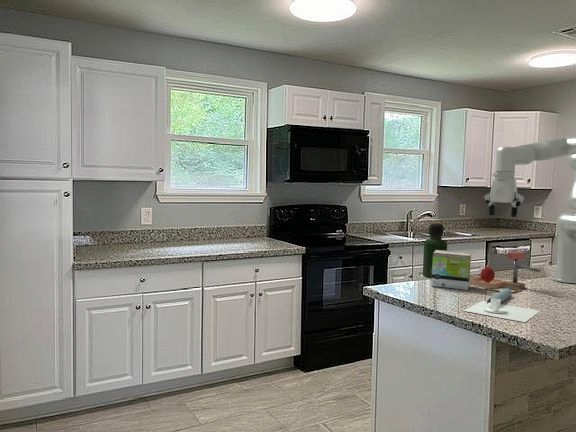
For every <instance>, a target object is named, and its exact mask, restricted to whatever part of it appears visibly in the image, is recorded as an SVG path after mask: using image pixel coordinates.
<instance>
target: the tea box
mask: <svg viewBox="0 0 576 432" xmlns="http://www.w3.org/2000/svg"><path fill="white" fill-rule="evenodd" d="M471 260H472V252H464V251H456V250H455V251H454V250H453V251H452V250H447V251H443V250H435V252H434V253H433V264H432V279H431V278H430V279H431V283H430V285H431V287H439V288H447V289H454V290H455V289H456V290H462V291H468V290H469V288H470V287H469V286H470V284H469V279H470V278H471V277H470V276H471Z"/></svg>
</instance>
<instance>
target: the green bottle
mask: <svg viewBox="0 0 576 432" xmlns="http://www.w3.org/2000/svg"><path fill="white" fill-rule="evenodd" d="M444 233H445V227H444V224H443V223H436V222H435V223H434V222H431V223H430V224H429V226H428V236H429V237H430V238H427V239H426V240H424V243H423V260H422V261H423V262H422V276H423V277H424V278H427V279H432V264H433V253H434V252H435V250H443V251H448V243H447V241H446V240H445V239H442V237H444Z"/></svg>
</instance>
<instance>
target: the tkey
mask: <svg viewBox="0 0 576 432" xmlns="http://www.w3.org/2000/svg"><path fill="white" fill-rule="evenodd" d="M507 254H508V255H507V258H508V259H509V260H513V266H512V267H513V268H512V269H513V270H512V271H513V272H512V281H513V282H514V283H517V282H518V279H519V277H518V275H519V269H523V270H527V271H531V272H536V273H541V272H542V271H541V269H540V268H536V267H532V266H527V265H522V264H519V261H520V260H524V259H525V257H526V253H525V252H522V251H521V252H518V251H516V252H508V253H507Z"/></svg>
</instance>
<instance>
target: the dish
mask: <svg viewBox="0 0 576 432" xmlns="http://www.w3.org/2000/svg"><path fill="white" fill-rule="evenodd" d="M505 282H508V280H505V279H504V280H503V279H499V278H494V279H493V280H492V281H491V282H489V283H487V282H484V281H483V280H482V278H481V276H476V277H470V279H469V286H477V287H480V288H481V287H482V288H488V287H492V289H493V290H495V289H498V288H500V287H499V286H503V287H504V285H505Z"/></svg>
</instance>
